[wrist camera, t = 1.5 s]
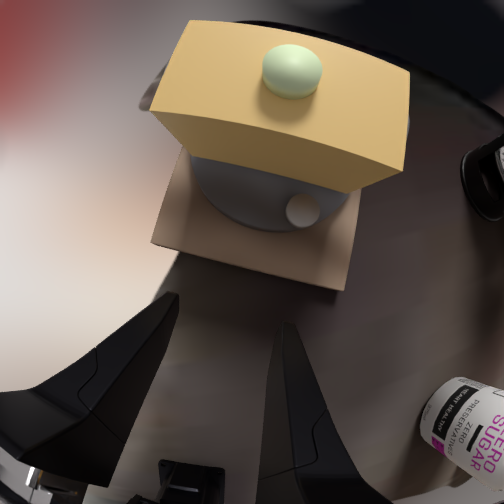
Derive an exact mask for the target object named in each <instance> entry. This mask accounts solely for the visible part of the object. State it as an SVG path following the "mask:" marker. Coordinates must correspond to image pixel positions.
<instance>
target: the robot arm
mask: <svg viewBox="0 0 504 504" xmlns="http://www.w3.org/2000/svg"><path fill="white" fill-rule="evenodd" d="M178 313H179V295H178V294H177V293H174V292H170V291H167V292H165V293H164V294H163V295H161V296H160V297H159V298H157V299H156V300H155V301H154V302H152V303H151V304H150V305H148V306H147V307H146V308H144V309H143V310H142V311H141V312H139V313H138V314H137V315H135V316H134V317H133V318H132V319H130V320H129V321H128V322H126V323H125V324H124V325H123V326H121V327H120V328H119V329H117V330H116V331H115V332H114V333H112V334H111V335H110V336H108V337H107V338H106V339H105V340H103V341H102V342H101V343H100V344H98V345H97V346H96V348H95V347H94V348H93V349H92V350H91V351H89V352H88V353H87V354H85V355H84V356H83V357H81V358H80V359H79V360H77V361H76V362H75V363H73V364H71V365H70V366H68V367H67V368H66V369H64V370H62V371H60V372H59V373H57V374H56V375H54V376H52V377H51V378H49V379H48V380H46V381H44V382H43V383H41V384H39V385H38V386H36V387H33V388H30V389H27V390H20V391H9V392H0V504H82V502H83V499H84V496H85V493H86V490H87V487H88V484H92V485H96V486H101V487H106V488H108V486H109V484H110V481H111V479H112V476H113V474H114V471H115V469H116V466H117V464H118V461H119V459H120V456H121V454H122V451H123V449H124V446H125V444H126V441H127V439H128V437H129V434H130V432H131V429H132V427H133V425H134V422H135V420H136V418H137V415H138V413H139V411H140V408H141V406H142V404H143V402H144V399H145V397H146V395H147V393H148V390H149V388H150V386H151V384H152V381H153V379H154V377H155V375H156V372H157V370H158V368H159V366H160V364H161V361H162V359H163V357H164V355H165V352H166V350H167V347H168V344H169V341H170V338H171V335H172V332H173V328H174V325H175V322H176V319H177V316H178ZM162 463H164V464H165V465H163V464H162ZM158 466H159V475H160V484H161V488H160V490H159V492H158V495H157V497H156V499H155V501H151V500H148V499H145V498H143V497H142V496H140V495H137V494H136V495H135V496H134V497H133V498H131V499H130V500H129V501H128V503H127V504H224V487H225V470H224V469H223V468H217V467H208V466H200V465H193V464H187V463H180V462H174V461H169V460H164V459H162V460H160V461H159V463H158ZM218 472H222V473H218ZM258 480H259V481H258V484H257V494H256V503H255V504H393V503H392V502H391V501H389V500H388V499H387V498H385V497H384V496H383V495H381V494H380V493H379V492H377V491H376V490H375V489H374V488H372V487H371V486H370V485H369V484H368V483H367V482H366V481H365V480H364V479H363V478H362V477H361V475H360V474H359V472H358V471H357V469H356V467H355V465H354V463H353V461H352V459H351V458H350V456H349V454H348V452H347V450H346V448H345V446H344V444H343V443H342V441H341V439H340V437H339V434H338V432H337V430H336V428H335V426H334V423H333V421H332V418H331V416H330V413H329V410H328V409H327V405H326V403H325V400H324V398H323V395H322V392H321V390H320V387H319V385H318V382H317V380H316V377H315V374H314V372H313V369H312V367H311V364H310V362H309V359H308V356H307V354H306V351H305V349H304V346H303V344H302V341H301V339H300V336H299V334H298V331H297V329H296V326H295V324H294V323H292V322H288V321H282V323H281V325H280V327H279V329H278V332H277V334H276V337H275V341H274V346H273V351H272V356H271V361H270V366H269V371H268V376H267V385H266V398H265V410H264V422H263V434H262V445H261V455H260V465H259V475H258ZM494 504H504V500H502V501H500V502H497V503H494Z"/></svg>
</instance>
